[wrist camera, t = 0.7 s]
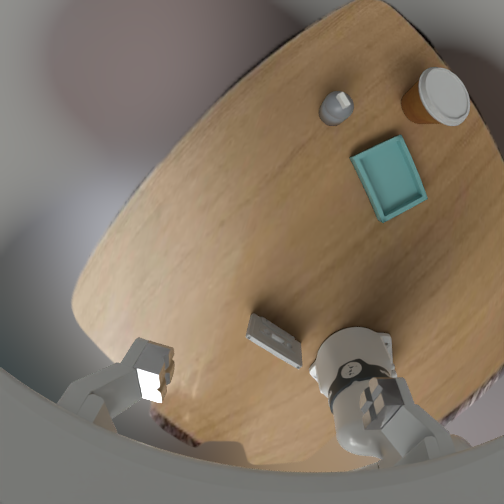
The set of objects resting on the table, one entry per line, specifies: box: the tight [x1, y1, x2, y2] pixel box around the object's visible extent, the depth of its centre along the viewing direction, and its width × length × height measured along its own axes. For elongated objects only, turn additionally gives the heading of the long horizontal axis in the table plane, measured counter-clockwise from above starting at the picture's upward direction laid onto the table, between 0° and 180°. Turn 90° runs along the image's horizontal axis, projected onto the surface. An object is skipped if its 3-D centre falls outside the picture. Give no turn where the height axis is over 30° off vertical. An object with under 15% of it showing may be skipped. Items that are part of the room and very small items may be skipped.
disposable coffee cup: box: [401, 67, 470, 126], centre depth 32 cm, size 10×10×12 cm
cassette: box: [246, 313, 302, 369], centre depth 49 cm, size 12×2×8 cm, turn 55°
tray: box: [350, 135, 428, 223], centre depth 41 cm, size 12×10×2 cm
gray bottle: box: [319, 91, 354, 126], centre depth 36 cm, size 4×4×10 cm
